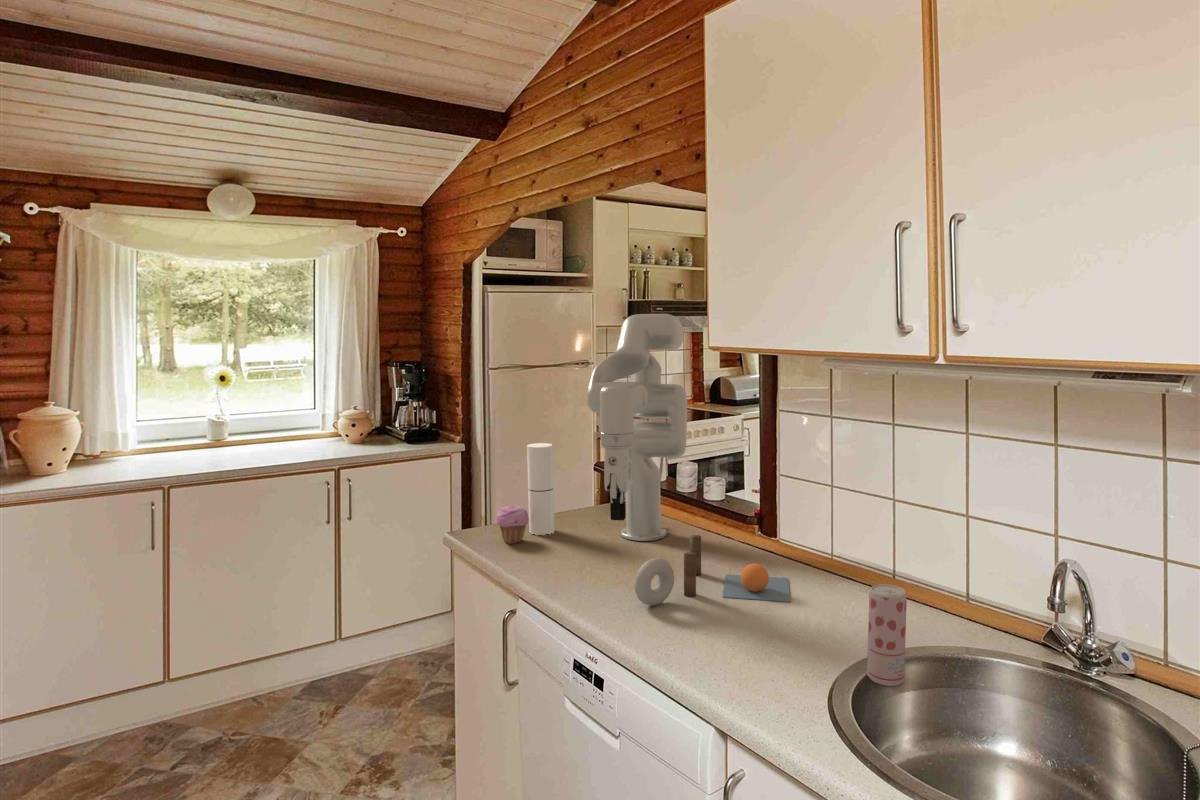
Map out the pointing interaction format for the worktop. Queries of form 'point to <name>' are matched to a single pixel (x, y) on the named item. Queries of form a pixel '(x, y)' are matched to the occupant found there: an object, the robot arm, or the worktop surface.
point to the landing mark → (772, 592)
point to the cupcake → (512, 523)
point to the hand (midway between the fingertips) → (618, 519)
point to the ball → (754, 577)
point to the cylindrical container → (540, 488)
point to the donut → (645, 578)
